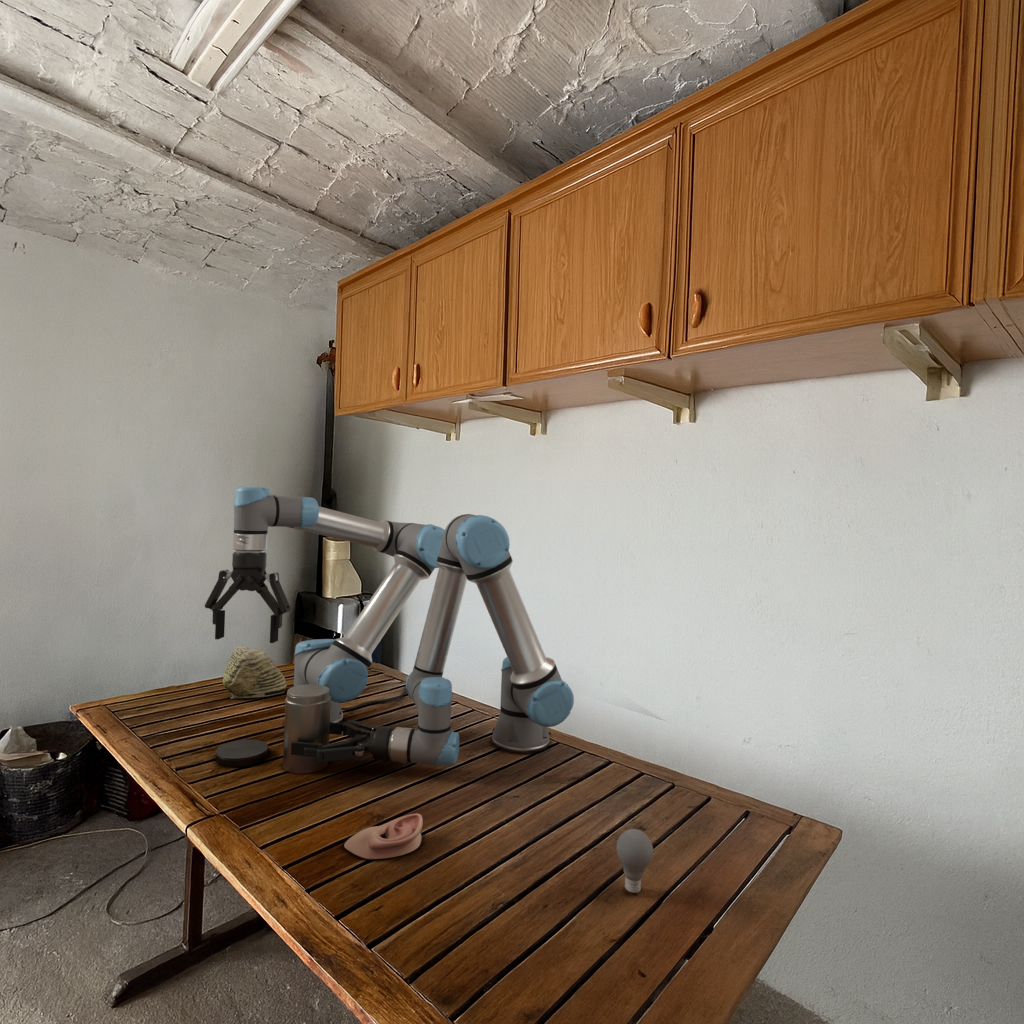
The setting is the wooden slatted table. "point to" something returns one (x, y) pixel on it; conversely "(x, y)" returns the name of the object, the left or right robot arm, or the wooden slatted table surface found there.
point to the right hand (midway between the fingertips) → (304, 736)
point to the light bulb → (634, 857)
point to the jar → (306, 725)
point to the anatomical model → (387, 838)
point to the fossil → (252, 674)
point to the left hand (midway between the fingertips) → (246, 640)
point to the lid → (242, 753)
